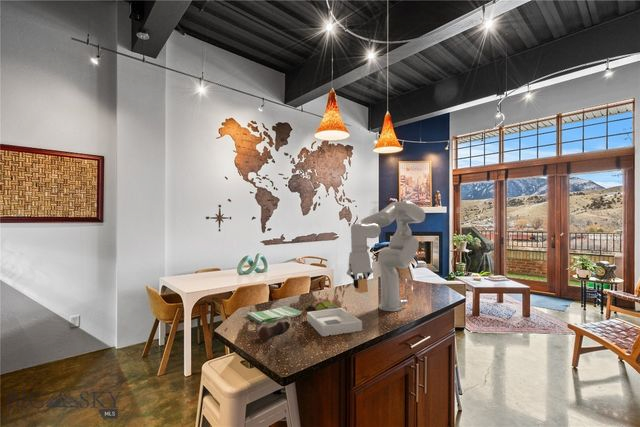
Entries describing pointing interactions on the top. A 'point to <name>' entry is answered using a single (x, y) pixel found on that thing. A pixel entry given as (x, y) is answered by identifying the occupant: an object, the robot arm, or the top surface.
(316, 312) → the tray
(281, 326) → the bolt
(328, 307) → the green elongated lump
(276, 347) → the top surface
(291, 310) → the dish towel
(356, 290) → the tan rectangular block
